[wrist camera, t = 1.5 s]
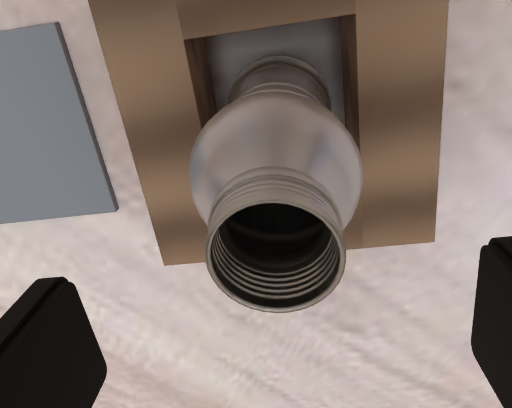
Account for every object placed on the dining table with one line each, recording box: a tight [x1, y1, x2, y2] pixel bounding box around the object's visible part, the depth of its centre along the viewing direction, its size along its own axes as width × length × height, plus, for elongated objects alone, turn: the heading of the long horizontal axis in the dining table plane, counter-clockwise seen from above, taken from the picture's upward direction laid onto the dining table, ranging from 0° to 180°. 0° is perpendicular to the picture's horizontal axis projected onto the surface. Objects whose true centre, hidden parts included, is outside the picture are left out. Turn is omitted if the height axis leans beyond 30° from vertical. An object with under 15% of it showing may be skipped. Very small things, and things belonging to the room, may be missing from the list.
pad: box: [0, 22, 119, 224], centre depth 30 cm, size 14×14×1 cm
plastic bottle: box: [189, 55, 363, 313], centre depth 19 cm, size 6×7×20 cm
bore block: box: [88, 0, 449, 266], centre depth 26 cm, size 18×18×6 cm
